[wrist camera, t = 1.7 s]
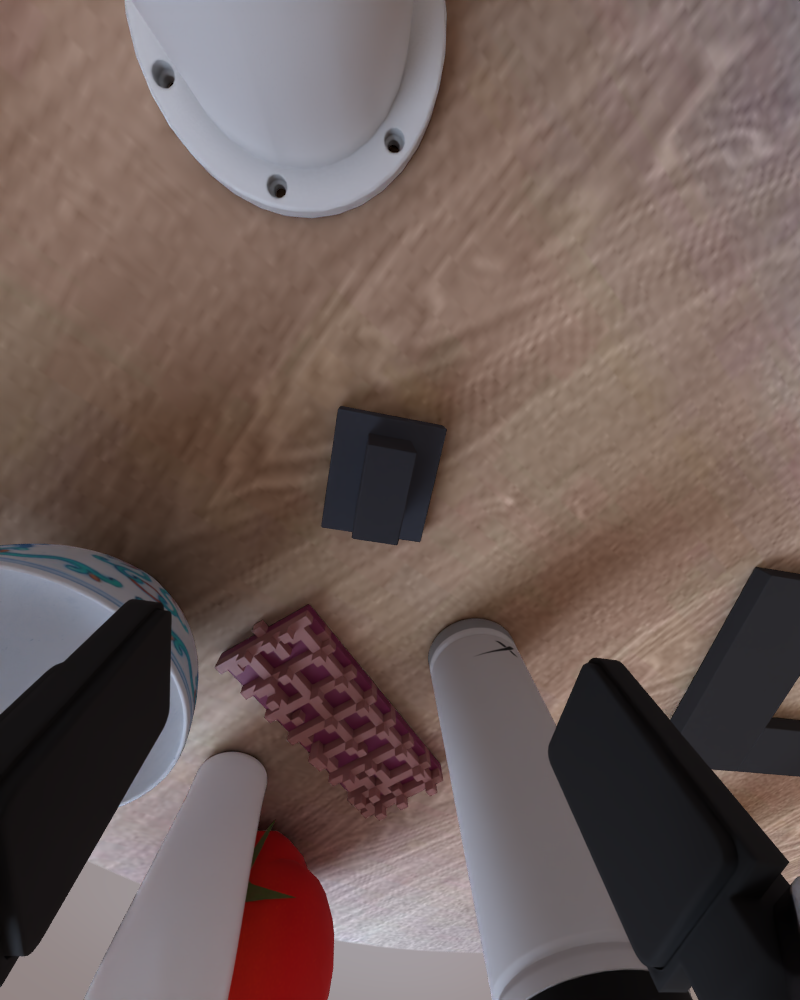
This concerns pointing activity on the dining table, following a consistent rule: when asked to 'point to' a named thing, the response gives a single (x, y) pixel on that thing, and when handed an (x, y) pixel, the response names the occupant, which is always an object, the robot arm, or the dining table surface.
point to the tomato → (283, 928)
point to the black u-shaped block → (749, 682)
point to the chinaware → (86, 632)
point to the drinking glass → (191, 894)
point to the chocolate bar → (333, 711)
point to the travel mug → (524, 833)
